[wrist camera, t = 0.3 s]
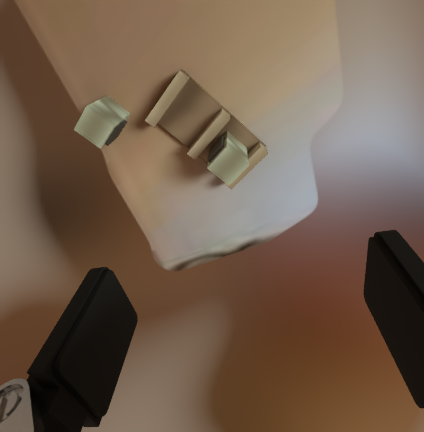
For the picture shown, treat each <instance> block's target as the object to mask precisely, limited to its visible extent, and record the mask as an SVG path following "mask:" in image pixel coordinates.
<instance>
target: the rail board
mask: <svg viewBox="0 0 424 432" xmlns="http://www.w3.org/2000/svg"><path fill="white" fill-rule="evenodd" d="M145 121H146V122H147V123H149V124H150V125H151V126H152V127H155V125H156V124H157V123H158V124H160V125H161V126H162V127H163V128H165V129H166V130H167V131H168V132H170V133H171V134H172V135H173V136H175V137H176V138H177V139H178V140H179V141H181V142H182V143H183V144H184V145H186V146H187V147H188V148H189V150H188V152H187V155H189V156H190V157H191V158H193V159H194V160H195V159H196V158H197V157H198V156H199V157H201V158H202V159H203V160H204V161H206V162H207V163H208V166H207V169H209V170H210V171H211V172H212V173H214V174H215V175H216V176H217V177H219V178H220V179H221V180H222V181H224V184H225V185H226V186H228V187H229V188H230V189H232V188H233V187H234V186H235V185H236V184H237V183H238V182H239V181H240V180H241V179H243V178H244V177H245V176H246V175H247V174H248V173H249V172H250V171H251V170H252V169H253V168H254V167H255V166H256V165H257V164H258V163H259V162H260V161H261V160H262V159H263V158H264V157H265V156H266V155H267V154H268V152H267V149H266V145H265V144H263V143H262V142H261V141H260V140H259V139H258V138H257V137H256V136H255V135H254V134H252V133H251V132H250V131H249V130H248V129H247V128H246V127H245V126H244V125H243V124H241V123H240V122H239V121H238V120H237V119H236V118H235V117H234V116H233V115H232V114H230V113H229V112H228V111H227V110H226V109H225V108H224V107H223V106H222V105H221V104H219V103H218V102H217V101H216V100H215V99H214V98H213V97H212V96H211V95H210V94H208V93H207V92H206V91H205V90H204V89H203V88H202V87H201V86H200V85H199V84H197V83H196V82H195V81H194V80H193V79H192V78H191V77H190V76H189V75H188V74H186V73H185V72H184V71H183V70H181V71H179V72H178V73H177V75H176V76H175V77H174V79H173V80H172V82H171V83H170V85H169V86H168V88H167V89H166V91H165V92H164V93H163V95H162V96H161V98H160V99H159V101H158V102H157V104H156V105H155V107H154V108H153V110H152V111H151V112H150V114H149V115H148V117H147V118H146V120H145Z"/></svg>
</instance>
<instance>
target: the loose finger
mask: <svg viewBox="0 0 424 432" xmlns="http://www.w3.org/2000/svg"><path fill="white" fill-rule="evenodd" d="M129 115H130V113H129V112H128V111H126V110H125V109H124V108H123V107H121V106H120V105H119V104H118V103H116V102H115V101H114V100H112V99H111V98H110V97H109V96H105V97H103V98H101V99H99V100H97V101H95V102H93V103H91V104H89V105H87V106H86V108H85V110H84V112H83V113H82V115H81V117H80V119H79V121H78V123H77V124H76V126H75V128H74V130H75V131H76V132H78V133H79V134H80V135H82V136H83V137H85V138H86V139H87V140H89V141H90V142H92V143H93V144H94V145H96V146H97V147H99V148H100V149H101V148H102V147H103V146H104V145H105V144H106V145H107V146H108V145H109V144H110V143H112V142H113V141H114V140H115V139H116V138H117V137H118V136H119V134H120V132H121V131H122V129H123V128H124V126H125V125H126V123H127V121H126V120H127V118H128V116H129Z"/></svg>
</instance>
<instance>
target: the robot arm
mask: <svg viewBox="0 0 424 432" xmlns="http://www.w3.org/2000/svg"><path fill="white" fill-rule="evenodd" d="M364 298H365V302H366V304H367V306H368V308H369V310H370V312H371V314H372V316H373V317H374V320H375V322H376V324H377V326H378V328H379V330H380V332H381V334H382V336H383V338H384V340H385V342H386V344H387V346H388V348H389V350H390V352H391V354H392V356H393V358H394V360H395V363H396V364H397V366H398V369H399V371H400V373H401V375H402V377H403V379H404V381H405V383H406V385H407V386H408V389H409V391H410V393H411V395H412V397H413V399H414V401H415V403H416V404H417V405H418V407H419V408H424V263H423V261H422V260H421V259H420V258H419V256H418V255H417V254H416V253H415V252H414V251H413V249H412V248H411V247H410V246H409V244H408V243H407V242H406V241H405V240H404V238H403V237H402V236H401V235H400V234H399V233H398V232H397V231H396V230H390V231H382V232H376V233H375V234H374V237H370V238H369V243H368V252H367V263H366V273H365V283H364ZM136 324H137V314H136V312H135V310H134V308H133V306H132V304H131V303H130V301H129V299H128V297H127V295H126V294H125V292H124V290H123V288H122V286H121V285H120V283H119V281H118V279H117V278H116V276H115V274H114V272H113V271H112V270H109V269H108V268H107V267H101V268H93V269H91V270H90V271H89V272H88V273H87V275H86V277H85V278H84V280H83V282H82V284H81V285H80V286H79V288H78V290H77V291H76V293H75V295H74V296H73V298H72V300H71V301H70V303H69V304H68V306H67V308H66V309H65V311H64V313H63V314H62V316H61V317H60V319H59V321H58V322H57V324H56V326H55V327H54V329H53V331H52V332H51V334H50V336H49V337H48V339H47V340H46V342H45V344H44V345H43V347H42V349H41V350H40V352H39V353H38V355H37V357H36V358H35V360H34V362H33V363H32V365H31V367H30V368H29V370H28V371H27V373H28V374H29V375H30V376H29V378H28V379H27V381H26V380H24V379H14V380H11V381H9V382H7V383H5V384H3V385H2V386H0V432H81V429H82V427H83V426H84V427H99V424H100V421H101V418H102V416H104V415H105V414H106V413H107V410H108V408H109V405H110V402H111V399H112V396H113V393H114V390H115V387H116V384H117V381H118V378H119V375H120V372H121V369H122V366H123V363H124V360H125V357H126V354H127V351H128V348H129V345H130V342H131V339H132V336H133V333H134V330H135V327H136Z"/></svg>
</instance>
